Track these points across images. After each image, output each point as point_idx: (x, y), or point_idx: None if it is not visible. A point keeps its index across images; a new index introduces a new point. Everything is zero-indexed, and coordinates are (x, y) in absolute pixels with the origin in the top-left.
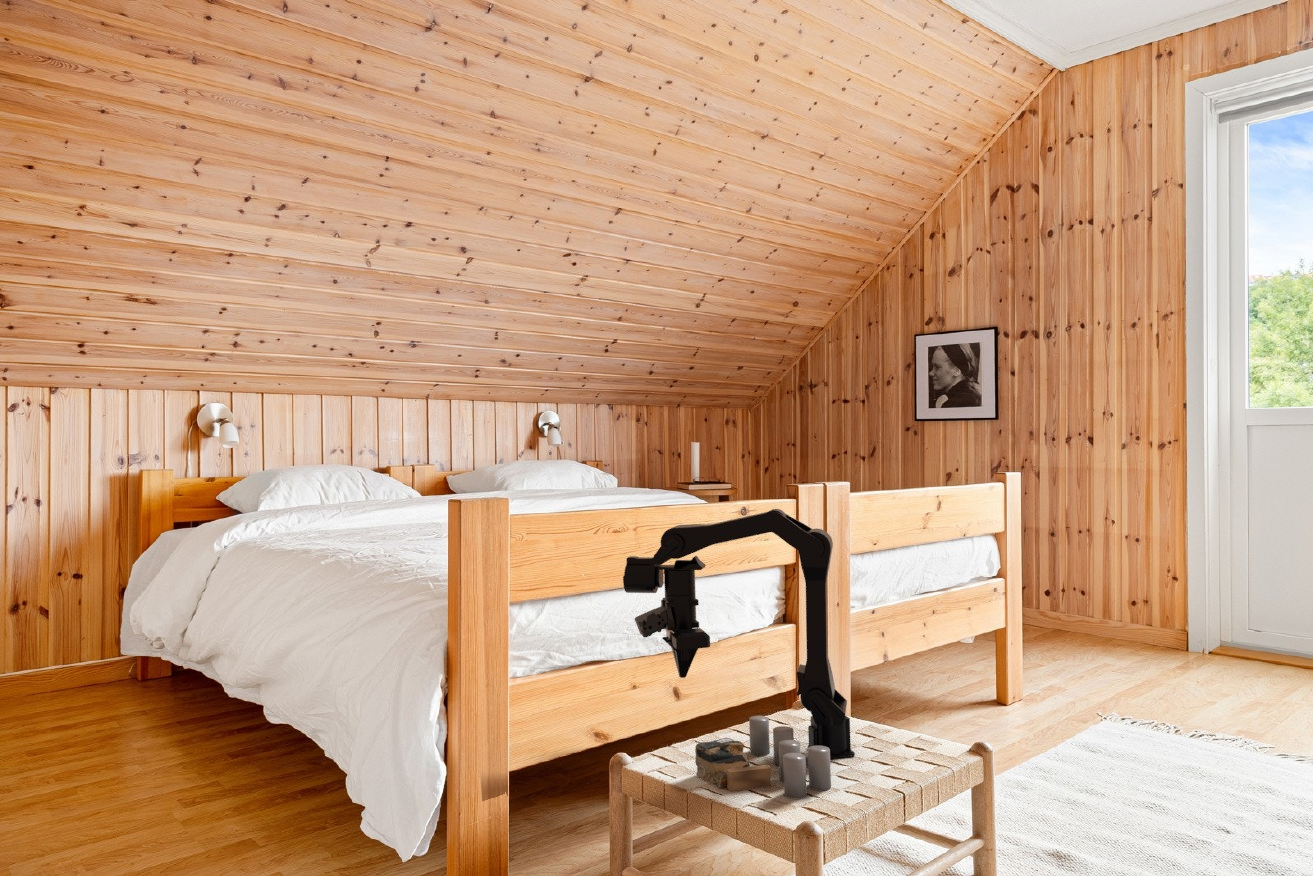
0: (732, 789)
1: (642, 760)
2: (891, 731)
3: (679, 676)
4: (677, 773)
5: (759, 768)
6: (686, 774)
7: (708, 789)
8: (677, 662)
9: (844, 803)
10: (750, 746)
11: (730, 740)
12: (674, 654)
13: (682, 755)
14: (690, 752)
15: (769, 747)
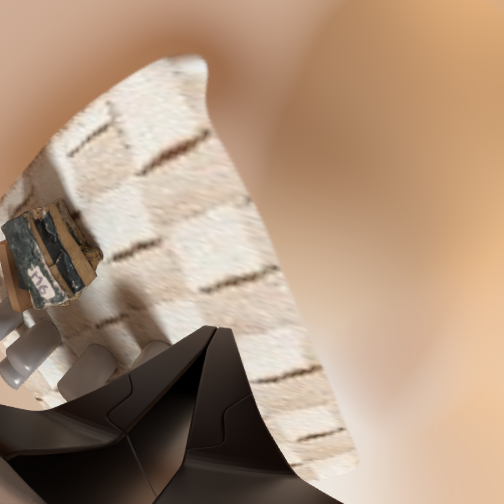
0: None
1: (178, 96)
2: None
3: (225, 328)
4: (85, 164)
5: (9, 294)
6: (77, 181)
7: (24, 203)
8: (149, 371)
9: (5, 341)
10: (155, 348)
11: (43, 295)
12: (196, 418)
13: (181, 202)
14: (196, 227)
15: None
